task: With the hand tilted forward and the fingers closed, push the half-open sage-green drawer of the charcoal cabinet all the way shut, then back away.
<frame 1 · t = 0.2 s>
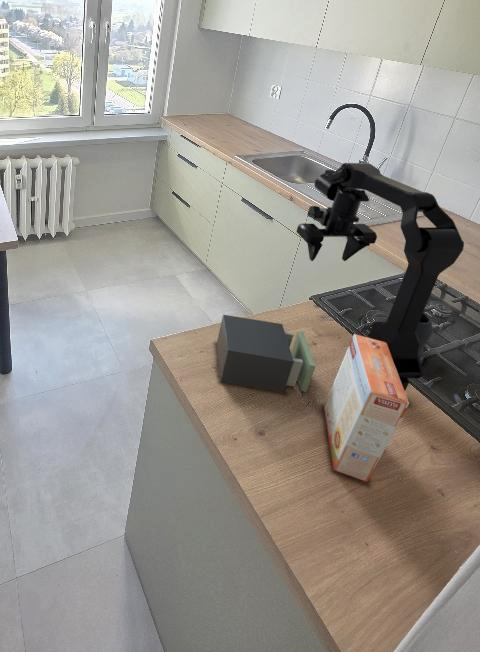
hand: (327, 260, 112), 15 cm above the counter, tool pointing down, fingers open, 9 cm apart
cabinet: (248, 366, 97), on the counter
cracker box: (343, 442, 81), on the counter
drawer: (278, 356, 94), point 5 cm above the counter, slide at 3.5 cm
mug: (401, 347, 104), on the counter
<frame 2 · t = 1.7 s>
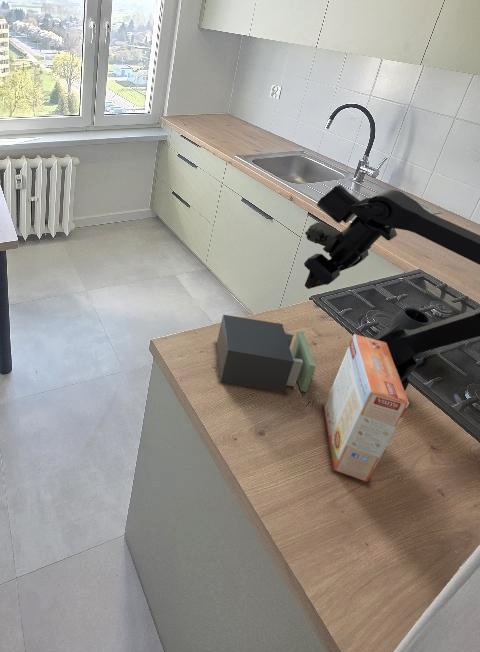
hand: (316, 280, 100), 17 cm above the counter, tool tilted 20°, fingers open, 9 cm apart
nothing on the counter moved.
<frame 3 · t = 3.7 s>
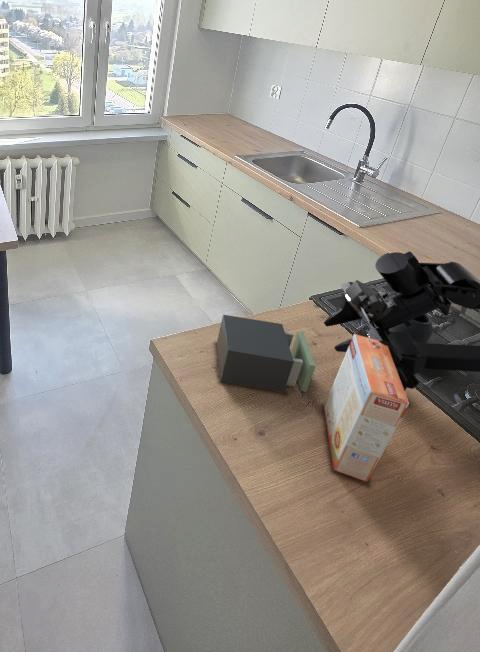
hand: (330, 336, 89), 13 cm above the counter, tool tilted 45°, fingers open, 7 cm apart
nothing on the counter moved.
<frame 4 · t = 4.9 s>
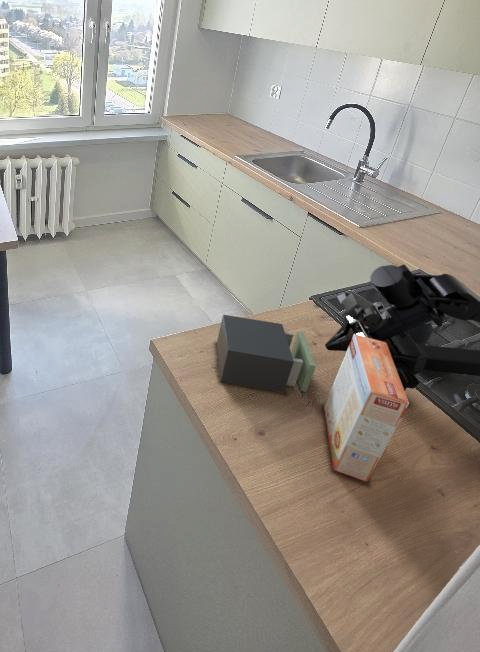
hand: (326, 347, 91), 10 cm above the counter, tool tilted 45°, fingers closed
nothing on the counter moved.
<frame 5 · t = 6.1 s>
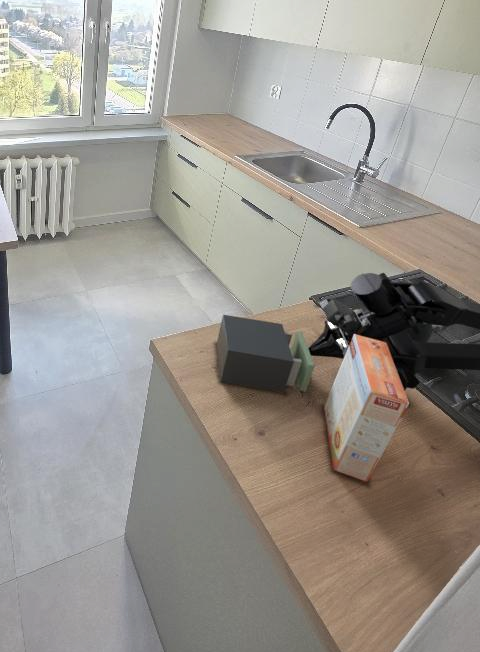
hand: (307, 352, 92), 7 cm above the counter, tool tilted 45°, fingers closed, pressing on drawer
drawer: (277, 356, 94), point 5 cm above the counter, slide at 3.3 cm, touching gripper
everything else where it was.
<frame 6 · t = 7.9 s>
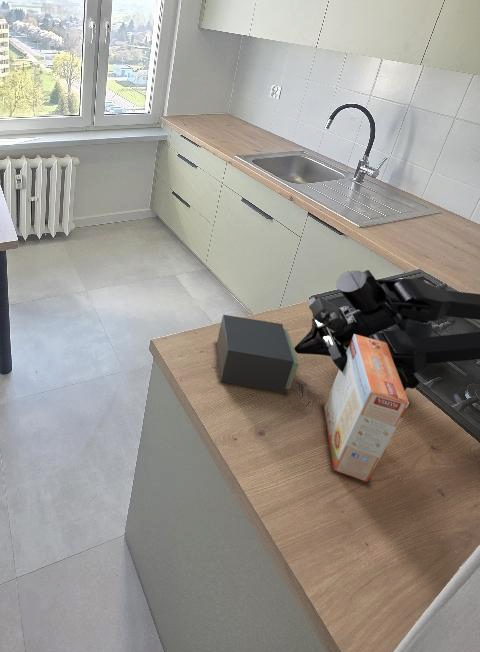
hand: (295, 350, 92), 7 cm above the counter, tool tilted 45°, fingers closed
drawer: (262, 353, 94), point 5 cm above the counter, slide at 0.0 cm, touching cabinet
everything else where it was.
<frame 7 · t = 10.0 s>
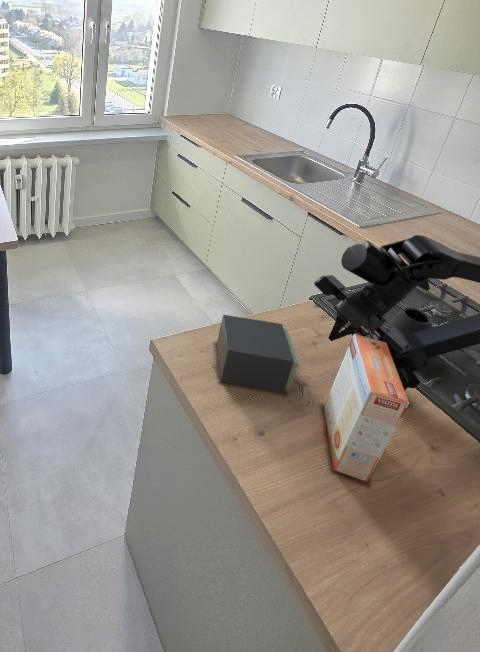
hand: (330, 339, 89), 12 cm above the counter, tool tilted 25°, fingers closed
nothing on the counter moved.
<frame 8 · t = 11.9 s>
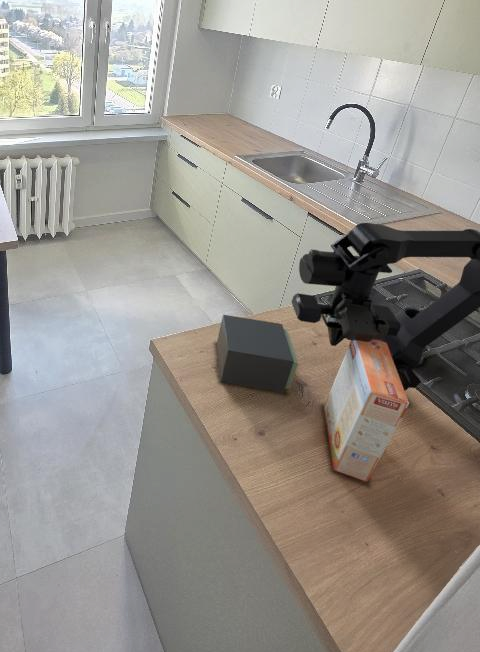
hand: (332, 344, 88), 12 cm above the counter, tool pointing down, fingers closed
nothing on the counter moved.
at the end: drawer slide at 0.0 cm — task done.
